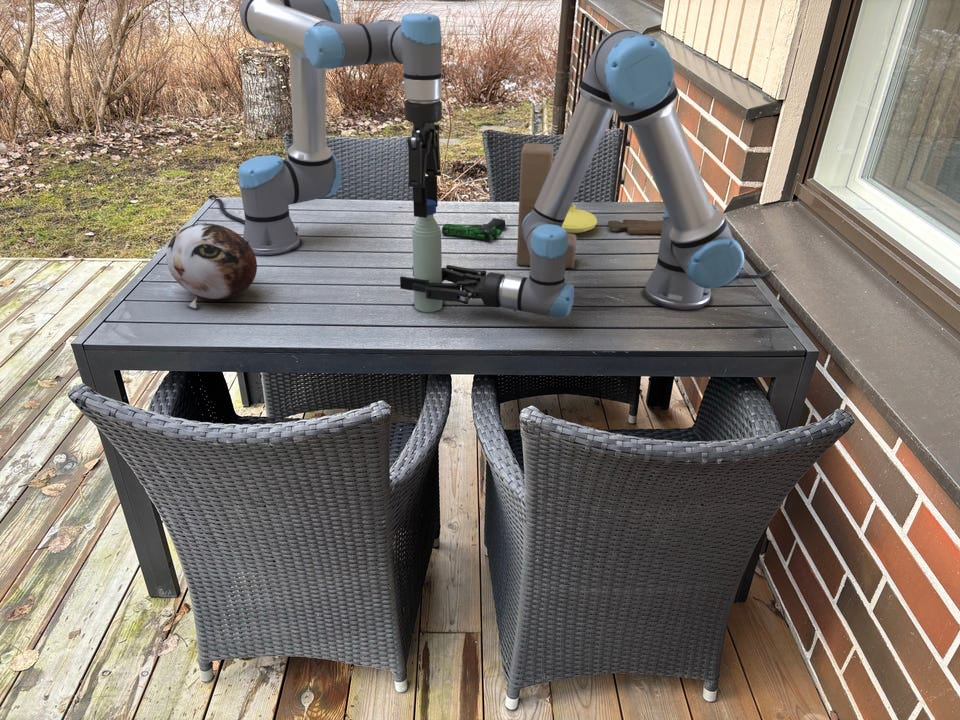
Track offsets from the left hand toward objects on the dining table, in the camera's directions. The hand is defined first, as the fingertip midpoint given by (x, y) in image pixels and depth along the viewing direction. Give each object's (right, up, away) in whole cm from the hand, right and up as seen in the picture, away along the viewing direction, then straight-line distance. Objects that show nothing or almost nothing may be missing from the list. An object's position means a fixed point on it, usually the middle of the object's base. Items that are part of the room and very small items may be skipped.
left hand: (426, 210), depth 155 cm
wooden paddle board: (+63, +6, +57) cm, 85 cm away
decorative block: (+29, -6, +35) cm, 46 cm away
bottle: (0, -20, +12) cm, 23 cm away
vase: (+38, +6, +56) cm, 68 cm away
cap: (0, +1, -1) cm, 2 cm away
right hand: (-5, -13, +10) cm, 17 cm away
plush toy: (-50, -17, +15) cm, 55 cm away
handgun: (+11, +5, +53) cm, 54 cm away
